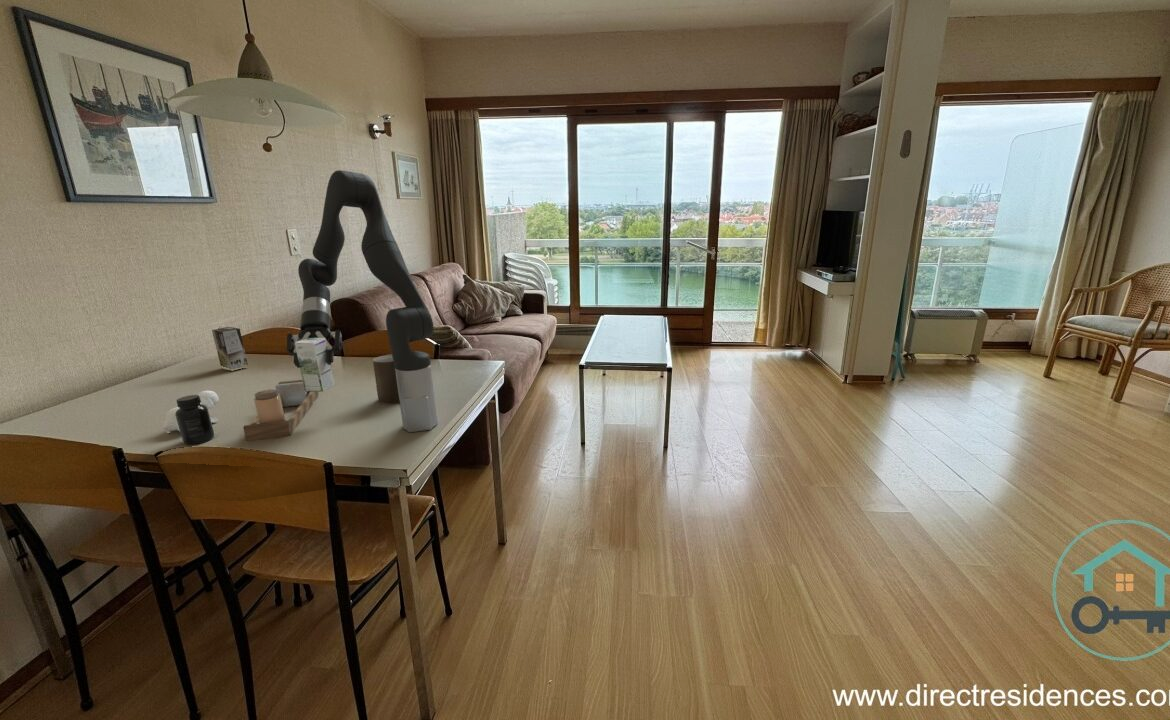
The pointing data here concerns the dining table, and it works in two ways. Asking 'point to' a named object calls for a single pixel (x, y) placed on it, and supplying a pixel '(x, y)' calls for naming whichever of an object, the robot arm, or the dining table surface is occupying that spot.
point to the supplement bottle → (193, 420)
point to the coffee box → (230, 347)
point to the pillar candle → (386, 379)
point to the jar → (269, 406)
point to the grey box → (291, 393)
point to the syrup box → (314, 364)
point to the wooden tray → (282, 427)
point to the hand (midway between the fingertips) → (313, 364)
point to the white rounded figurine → (206, 399)
